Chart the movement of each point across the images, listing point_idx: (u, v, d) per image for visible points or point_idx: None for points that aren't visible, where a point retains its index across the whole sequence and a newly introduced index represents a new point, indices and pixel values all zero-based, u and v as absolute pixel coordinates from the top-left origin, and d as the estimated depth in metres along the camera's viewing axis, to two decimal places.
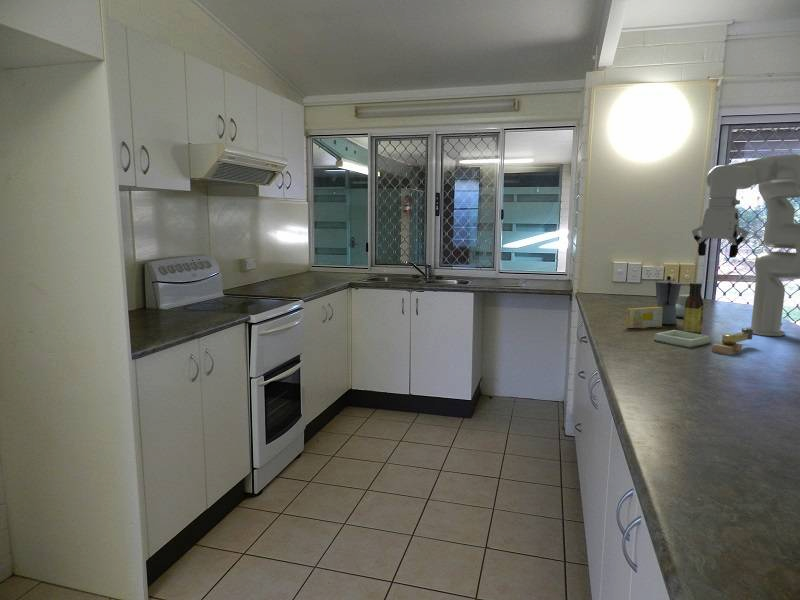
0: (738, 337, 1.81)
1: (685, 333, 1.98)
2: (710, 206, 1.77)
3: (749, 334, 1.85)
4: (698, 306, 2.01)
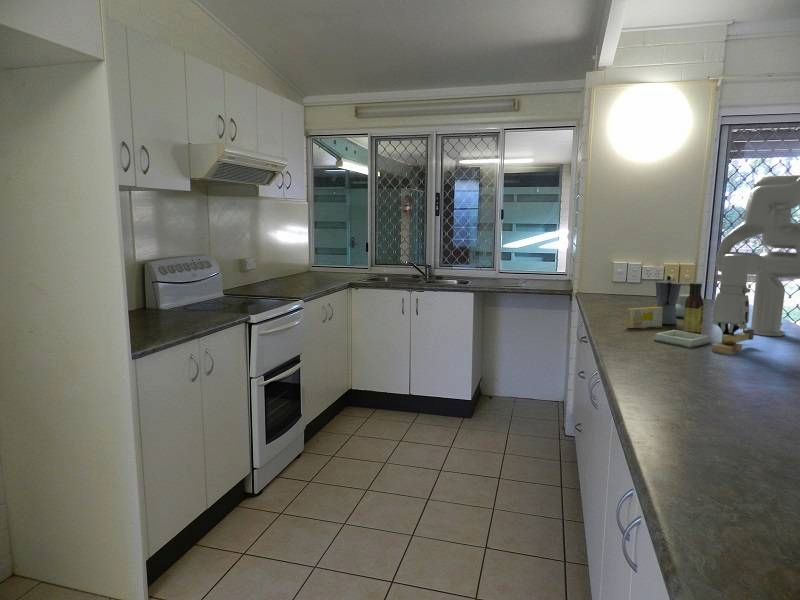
0: (738, 337, 1.81)
1: (685, 333, 1.98)
2: (721, 292, 1.83)
3: (750, 334, 1.85)
4: (698, 306, 2.01)
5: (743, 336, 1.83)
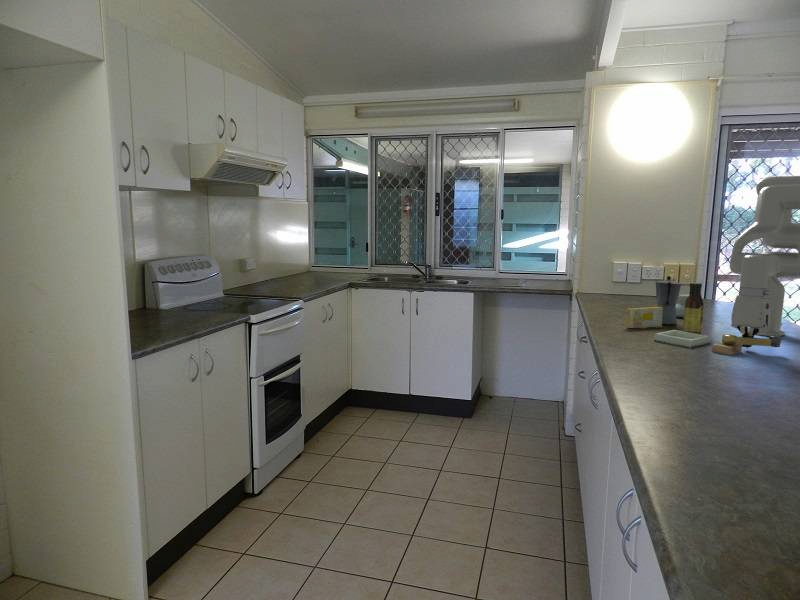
0: (744, 340, 1.77)
1: (685, 333, 1.98)
2: (741, 294, 1.78)
3: (772, 341, 1.75)
4: (698, 306, 2.01)
5: (756, 340, 1.76)
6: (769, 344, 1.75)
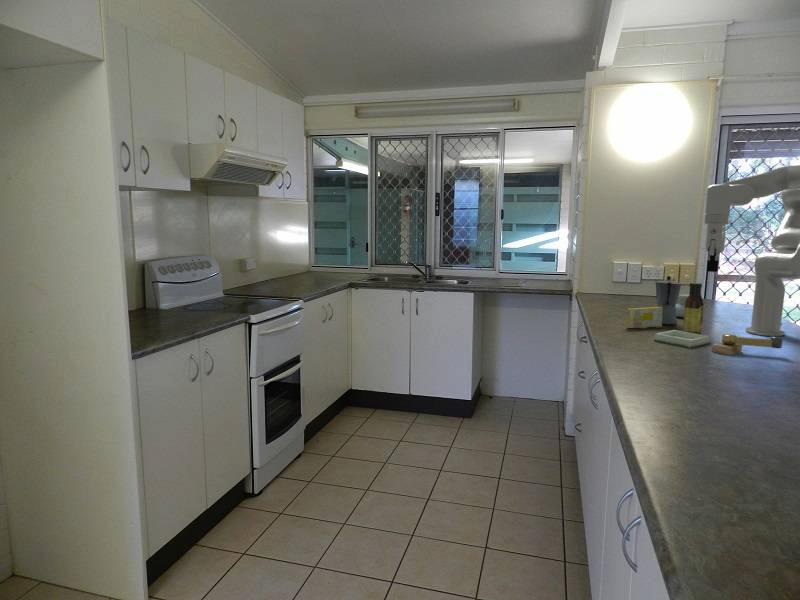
0: (744, 340, 1.77)
1: (685, 333, 1.98)
2: None
3: (773, 342, 1.73)
4: (698, 306, 2.01)
5: (756, 341, 1.75)
6: (770, 345, 1.74)
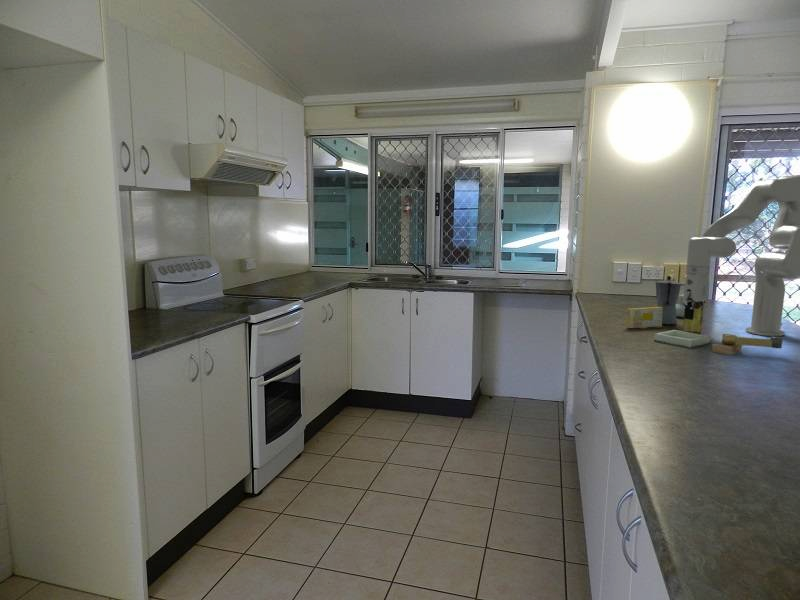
0: (744, 340, 1.77)
1: (685, 333, 1.98)
2: None
3: (773, 342, 1.73)
4: (698, 306, 2.01)
5: (756, 341, 1.75)
6: (770, 345, 1.74)
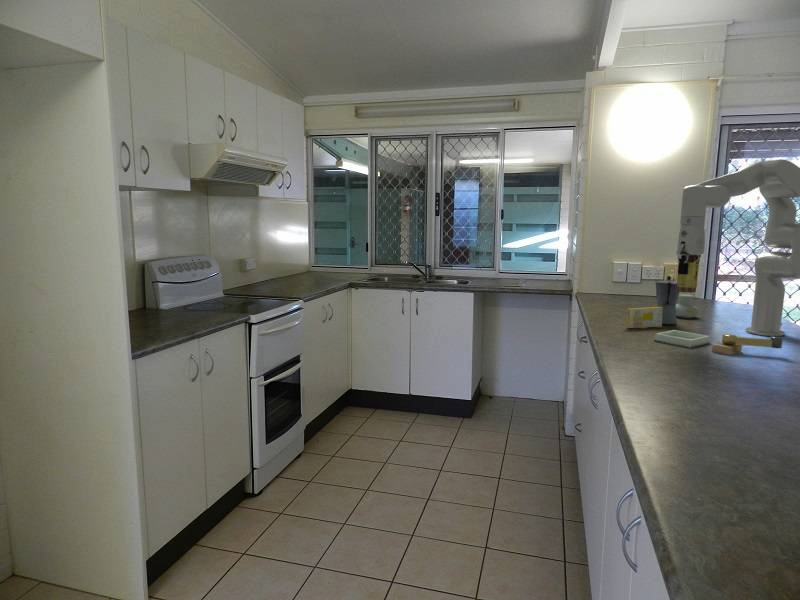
0: (744, 340, 1.77)
1: (685, 333, 1.98)
2: None
3: (773, 342, 1.73)
4: (693, 260, 1.86)
5: (756, 341, 1.75)
6: (770, 345, 1.74)
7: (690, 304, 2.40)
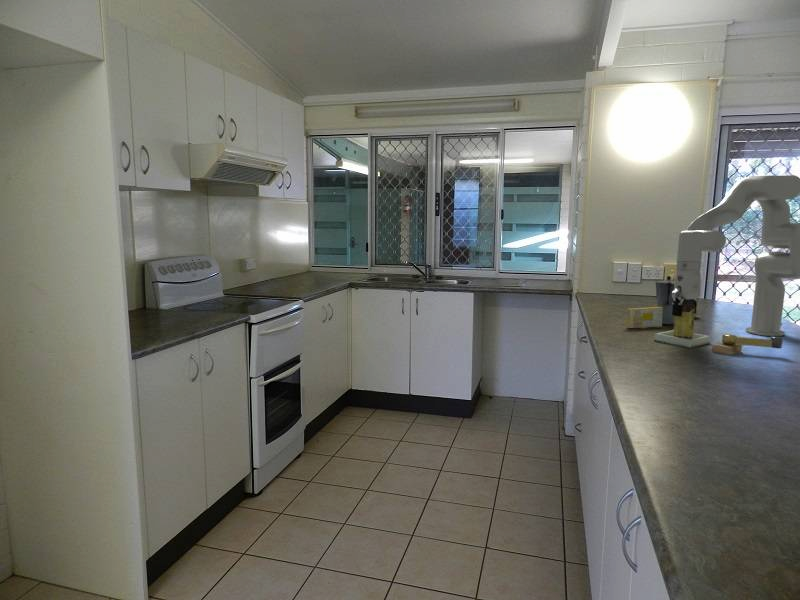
0: (744, 340, 1.77)
1: None
2: None
3: (773, 342, 1.73)
4: (689, 310, 1.89)
5: (756, 341, 1.75)
6: (770, 345, 1.74)
7: None
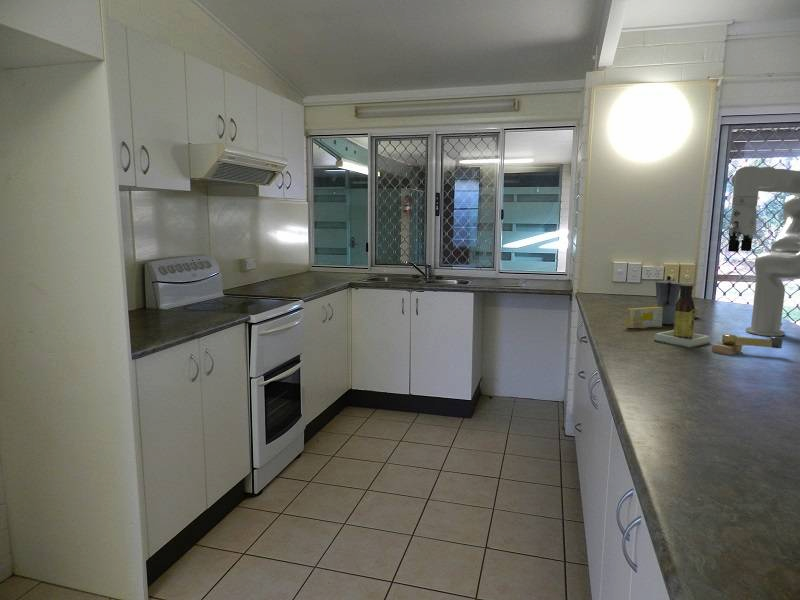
0: (744, 340, 1.77)
1: None
2: None
3: (773, 342, 1.73)
4: (689, 310, 1.89)
5: (756, 341, 1.75)
6: (770, 345, 1.74)
7: None
